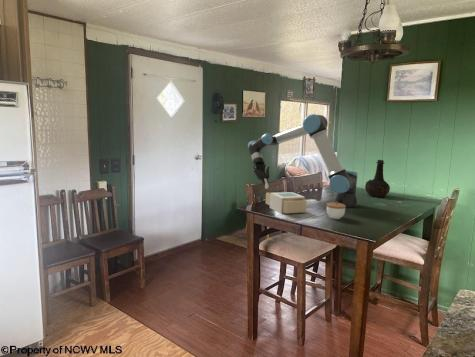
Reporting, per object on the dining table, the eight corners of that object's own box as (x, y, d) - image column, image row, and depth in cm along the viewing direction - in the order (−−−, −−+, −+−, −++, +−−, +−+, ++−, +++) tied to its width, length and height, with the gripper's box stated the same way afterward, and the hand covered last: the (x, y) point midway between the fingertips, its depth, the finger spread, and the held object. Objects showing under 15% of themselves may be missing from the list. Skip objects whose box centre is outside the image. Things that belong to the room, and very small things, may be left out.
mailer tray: (265, 203, 235) (266, 192, 234) (283, 202, 240) (284, 191, 239) (286, 213, 211) (286, 201, 210) (305, 212, 217) (306, 200, 216)
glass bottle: (368, 192, 292) (371, 158, 287) (391, 196, 281) (395, 160, 277) (361, 195, 277) (364, 159, 273) (385, 199, 267) (389, 161, 263)
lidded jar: (345, 220, 204) (346, 204, 203) (325, 219, 207) (327, 203, 205) (343, 216, 215) (345, 200, 213) (325, 214, 217) (326, 199, 215)
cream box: (269, 207, 227) (270, 193, 226) (291, 206, 234) (292, 191, 232) (280, 213, 215) (281, 197, 213) (303, 211, 221) (304, 196, 220)
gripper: (264, 163, 264) (273, 190, 251) (247, 163, 259) (256, 190, 246) (267, 156, 258) (277, 184, 246) (251, 156, 253) (260, 184, 240)
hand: (267, 187), depth 246 cm, fingers closed
